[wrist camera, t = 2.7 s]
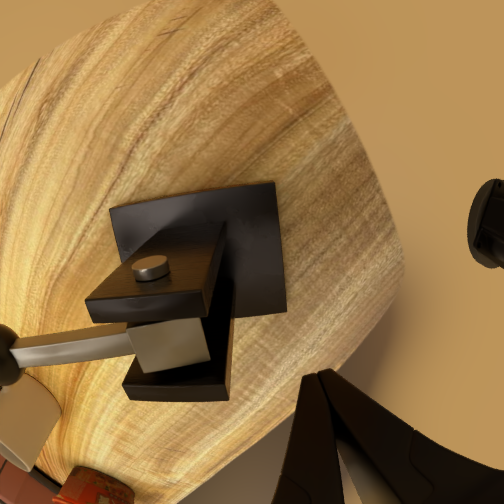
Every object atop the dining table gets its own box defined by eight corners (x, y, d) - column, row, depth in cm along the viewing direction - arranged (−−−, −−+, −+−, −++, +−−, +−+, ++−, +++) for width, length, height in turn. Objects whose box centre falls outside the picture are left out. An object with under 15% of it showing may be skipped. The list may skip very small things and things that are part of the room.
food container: (120, 500, 37) (111, 536, 27) (57, 464, 33) (42, 500, 23) (158, 496, 34) (150, 541, 24) (82, 455, 30) (64, 503, 20)
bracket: (145, 317, 21) (91, 420, 11) (115, 205, 18) (10, 256, 8) (285, 304, 21) (313, 420, 10) (273, 180, 18) (307, 209, 8)
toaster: (-9, 425, 32) (-37, 472, 15) (97, 506, 42) (84, 551, 25) (-28, 427, 36) (-49, 461, 19) (51, 495, 46) (39, 529, 30)
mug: (72, 421, 27) (43, 480, 16) (34, 411, 27) (4, 460, 16) (27, 351, 23) (-22, 411, 12) (-7, 346, 23) (-51, 394, 13)
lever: (6, 363, 10) (-14, 398, 7) (-18, 315, 9) (-45, 345, 6) (204, 333, 13) (215, 376, 10) (190, 273, 12) (197, 306, 9)
